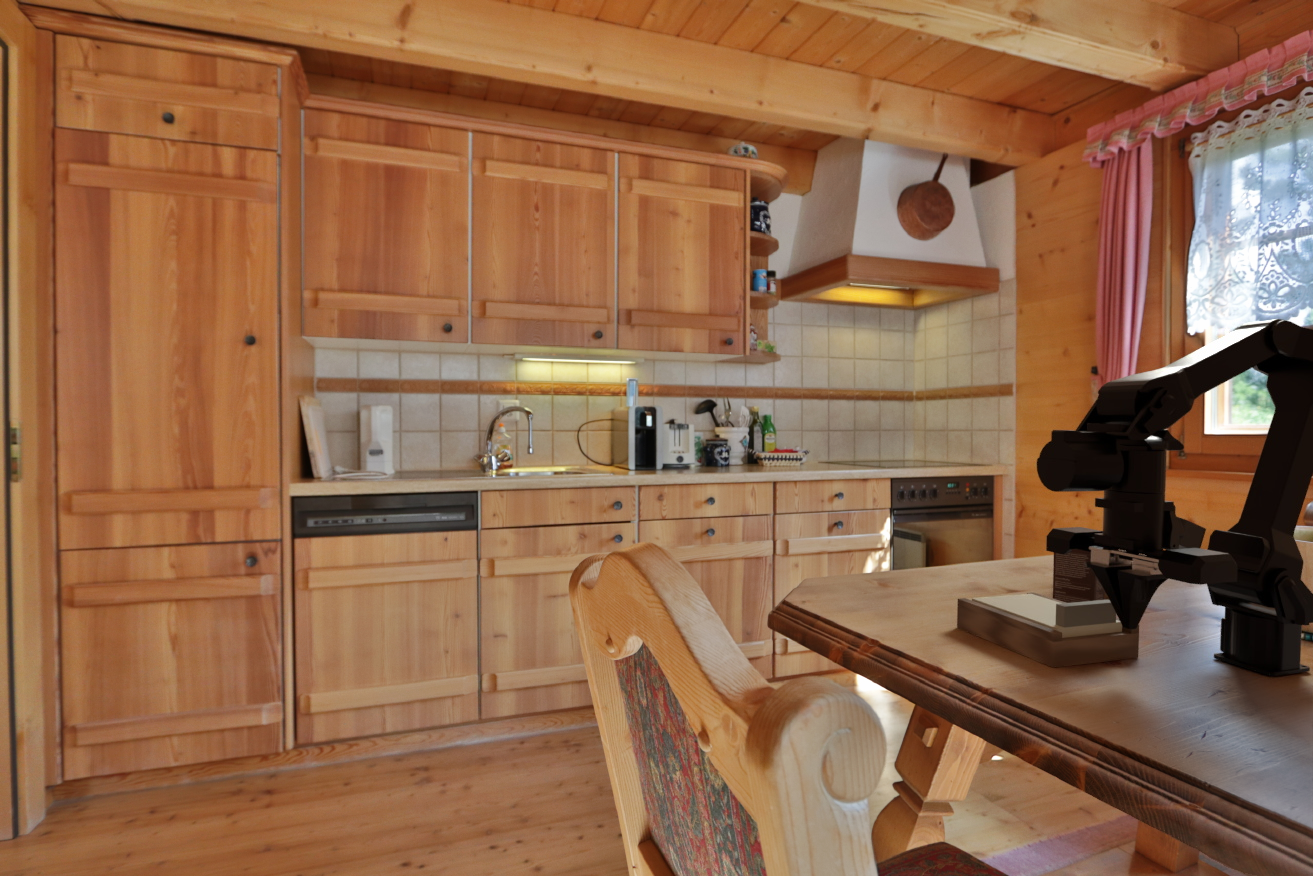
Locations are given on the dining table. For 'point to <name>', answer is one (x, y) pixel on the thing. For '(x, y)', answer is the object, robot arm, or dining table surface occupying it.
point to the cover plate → (1059, 613)
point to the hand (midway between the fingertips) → (1129, 628)
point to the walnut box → (1044, 637)
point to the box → (1075, 578)
